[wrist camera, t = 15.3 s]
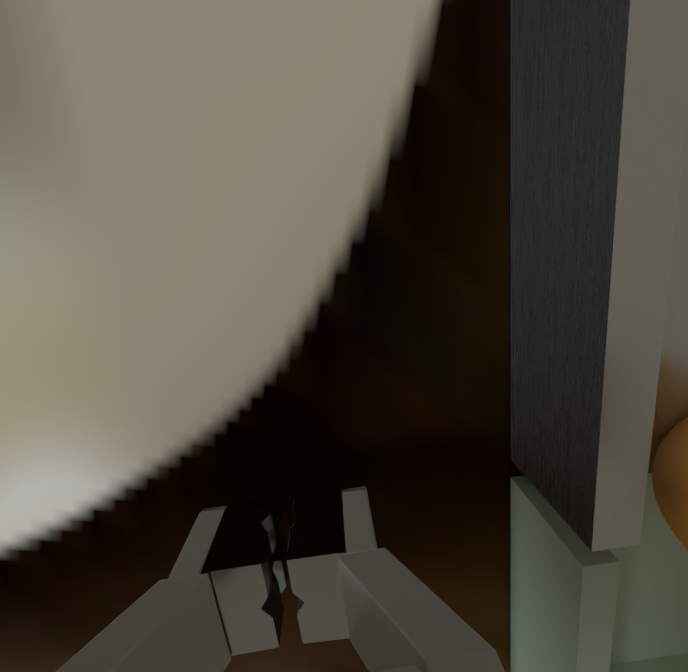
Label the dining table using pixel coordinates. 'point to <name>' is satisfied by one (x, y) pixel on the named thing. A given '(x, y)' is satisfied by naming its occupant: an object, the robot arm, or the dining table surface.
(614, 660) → the tray
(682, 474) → the ball
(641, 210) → the grey metal shallow bin
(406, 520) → the dining table surface
